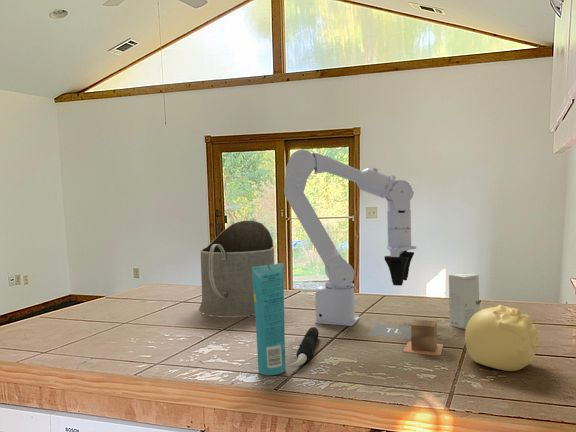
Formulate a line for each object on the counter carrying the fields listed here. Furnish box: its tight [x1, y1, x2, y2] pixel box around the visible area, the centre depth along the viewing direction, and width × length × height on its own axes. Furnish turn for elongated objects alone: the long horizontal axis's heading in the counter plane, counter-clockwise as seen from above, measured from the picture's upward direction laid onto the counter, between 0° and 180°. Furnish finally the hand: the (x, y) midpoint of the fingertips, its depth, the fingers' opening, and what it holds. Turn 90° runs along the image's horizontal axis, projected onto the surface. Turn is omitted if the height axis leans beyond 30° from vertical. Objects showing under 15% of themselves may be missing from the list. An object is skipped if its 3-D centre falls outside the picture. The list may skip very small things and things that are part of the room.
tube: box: [252, 262, 286, 376], centre depth 84 cm, size 7×5×19 cm, turn 140°
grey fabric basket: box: [198, 220, 275, 318], centre depth 132 cm, size 23×32×25 cm
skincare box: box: [448, 272, 480, 330], centre depth 111 cm, size 6×4×12 cm
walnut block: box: [410, 319, 438, 352], centre depth 94 cm, size 4×4×5 cm
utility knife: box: [285, 326, 320, 367], centre depth 93 cm, size 22×4×3 cm, turn 170°
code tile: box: [366, 323, 411, 340], centre depth 107 cm, size 10×10×1 cm
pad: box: [402, 340, 444, 357], centre depth 94 cm, size 7×7×1 cm
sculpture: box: [464, 304, 539, 372], centre depth 84 cm, size 12×12×11 cm
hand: (400, 282), depth 117 cm, fingers open, 7 cm apart
